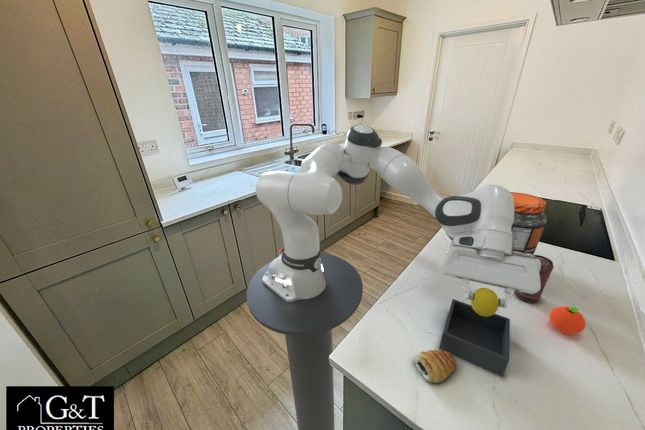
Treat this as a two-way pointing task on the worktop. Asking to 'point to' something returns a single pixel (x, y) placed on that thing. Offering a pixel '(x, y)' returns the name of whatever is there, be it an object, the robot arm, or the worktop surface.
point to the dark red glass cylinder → (544, 275)
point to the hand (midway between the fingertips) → (485, 303)
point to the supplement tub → (527, 222)
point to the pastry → (435, 365)
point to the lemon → (485, 302)
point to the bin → (477, 337)
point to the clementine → (567, 319)
